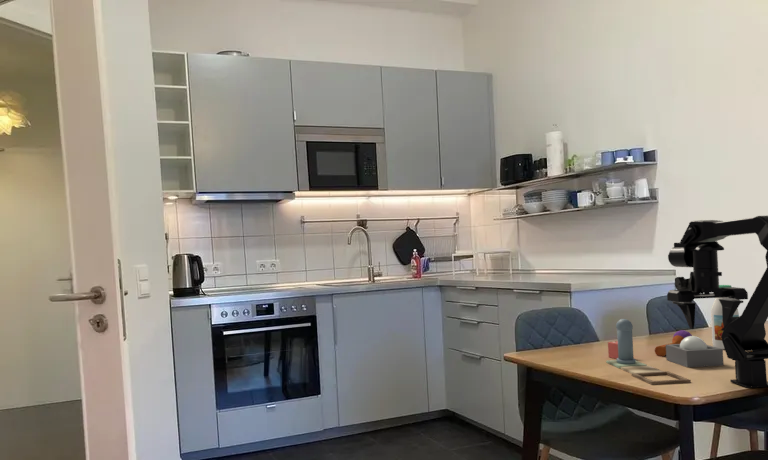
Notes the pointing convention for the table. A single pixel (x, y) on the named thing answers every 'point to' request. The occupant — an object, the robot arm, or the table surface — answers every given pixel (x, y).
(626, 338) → the pawn
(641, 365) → the game track
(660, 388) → the table surface
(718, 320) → the milk bottle
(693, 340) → the dome
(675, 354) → the grey open box
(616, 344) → the red block
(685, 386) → the table surface
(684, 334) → the maraca
